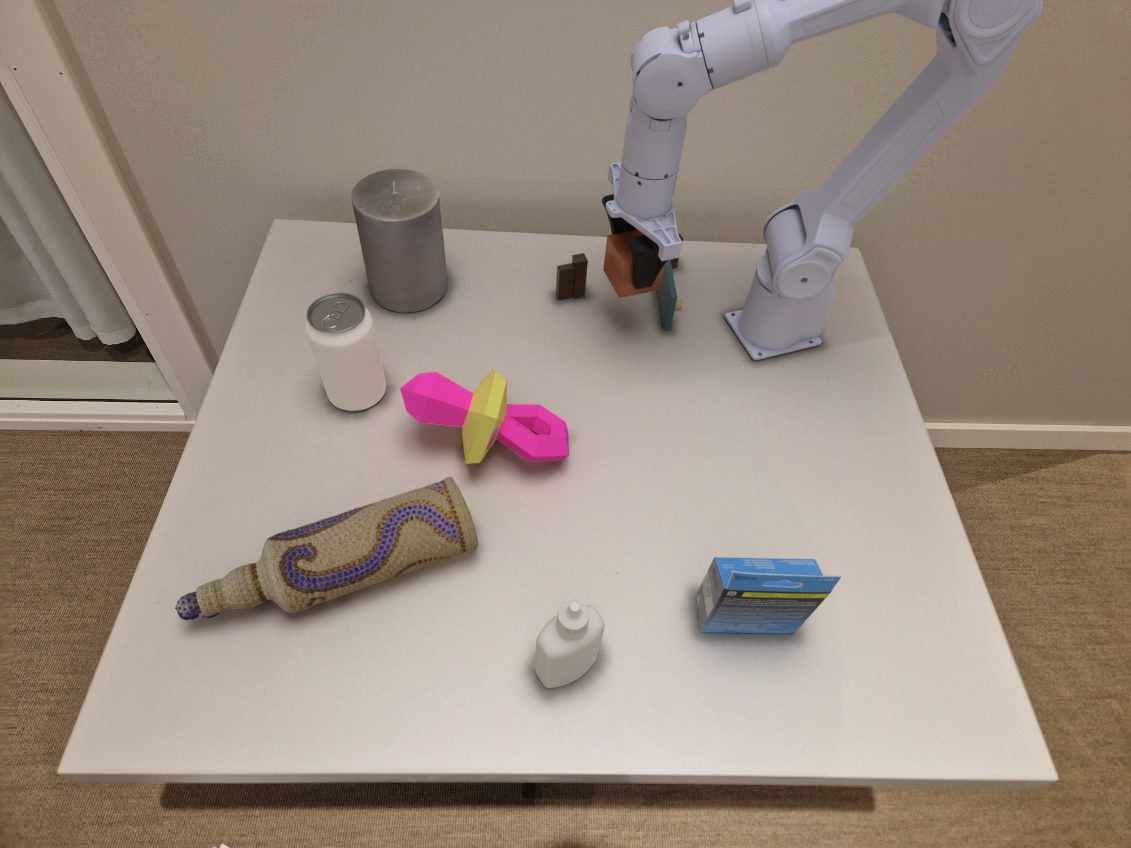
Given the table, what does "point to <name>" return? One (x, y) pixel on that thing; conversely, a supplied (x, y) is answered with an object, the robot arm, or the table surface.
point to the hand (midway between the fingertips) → (633, 270)
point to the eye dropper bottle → (568, 644)
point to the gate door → (668, 296)
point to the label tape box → (760, 594)
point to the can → (346, 351)
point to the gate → (578, 277)
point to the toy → (487, 417)
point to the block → (623, 265)
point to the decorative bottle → (344, 553)
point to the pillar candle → (401, 238)
